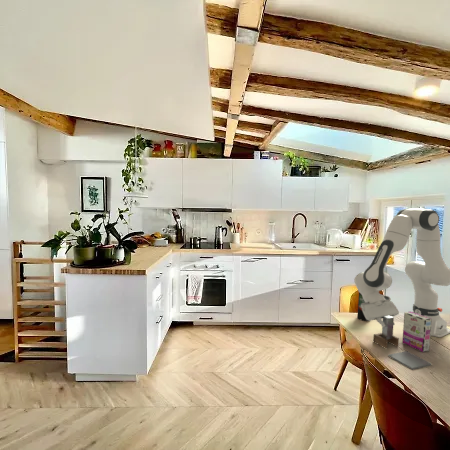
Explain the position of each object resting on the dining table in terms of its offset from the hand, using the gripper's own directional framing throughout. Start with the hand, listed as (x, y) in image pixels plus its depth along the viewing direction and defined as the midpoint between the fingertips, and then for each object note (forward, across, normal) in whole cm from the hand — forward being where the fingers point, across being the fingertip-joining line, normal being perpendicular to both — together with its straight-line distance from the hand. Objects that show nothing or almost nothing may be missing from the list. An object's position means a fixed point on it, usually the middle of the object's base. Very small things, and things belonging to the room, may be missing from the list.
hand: (388, 325), depth 153 cm
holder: (+6, -1, +7) cm, 10 cm away
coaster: (+18, -5, -4) cm, 19 cm away
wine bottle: (-14, +15, +29) cm, 36 cm away
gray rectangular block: (+4, 0, +5) cm, 6 cm away
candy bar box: (+12, +11, +3) cm, 16 cm away
